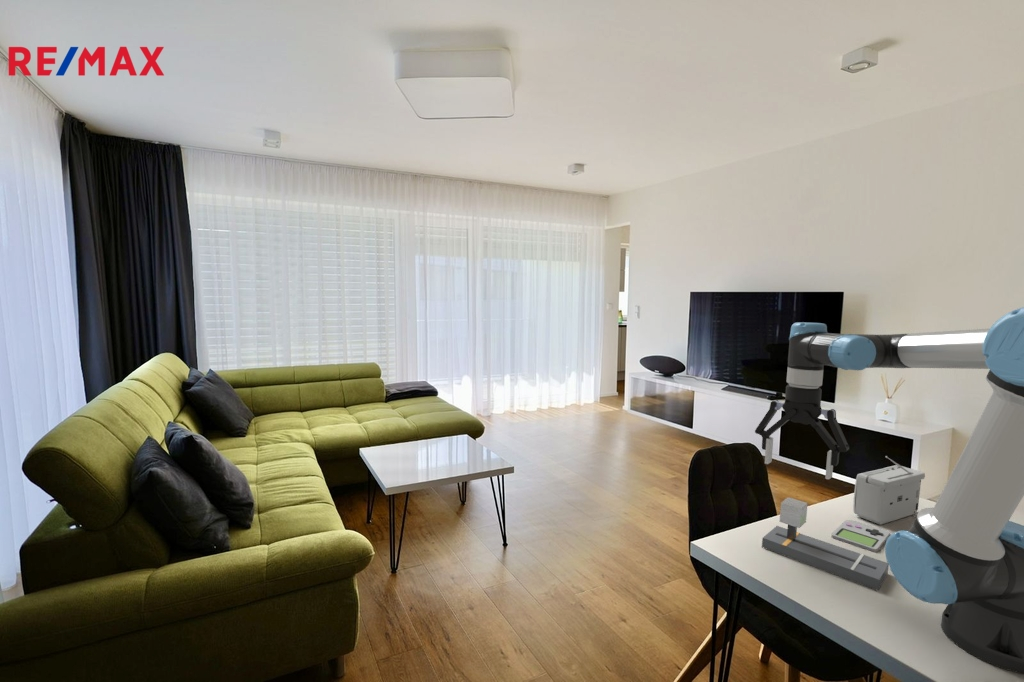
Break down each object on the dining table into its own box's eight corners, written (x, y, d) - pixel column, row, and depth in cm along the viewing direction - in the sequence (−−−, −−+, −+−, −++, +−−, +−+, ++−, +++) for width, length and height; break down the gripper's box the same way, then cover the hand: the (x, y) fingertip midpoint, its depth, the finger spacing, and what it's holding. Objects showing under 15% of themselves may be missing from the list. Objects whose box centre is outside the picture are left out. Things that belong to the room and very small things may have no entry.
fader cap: (804, 538, 123) (807, 502, 122) (797, 544, 120) (801, 508, 119) (785, 531, 126) (788, 497, 125) (778, 537, 123) (781, 502, 122)
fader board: (887, 573, 113) (888, 562, 113) (878, 590, 106) (879, 579, 106) (776, 534, 130) (776, 525, 130) (761, 547, 123) (762, 537, 123)
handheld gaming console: (890, 530, 132) (876, 548, 122) (890, 536, 132) (875, 554, 122) (847, 517, 139) (830, 533, 130) (847, 522, 140) (830, 539, 130)
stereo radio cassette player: (891, 504, 152) (897, 441, 150) (922, 515, 145) (929, 449, 143) (850, 515, 143) (856, 449, 141) (881, 528, 136) (888, 458, 134)
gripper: (869, 391, 113) (861, 481, 115) (756, 377, 131) (751, 454, 133) (861, 395, 108) (852, 489, 110) (745, 379, 126) (739, 460, 128)
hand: (797, 470), depth 121 cm, fingers open, 13 cm apart
